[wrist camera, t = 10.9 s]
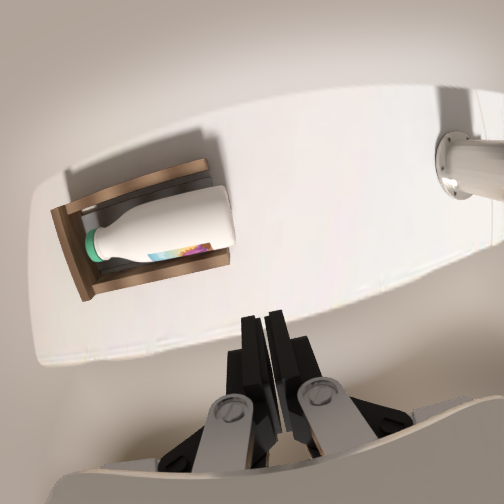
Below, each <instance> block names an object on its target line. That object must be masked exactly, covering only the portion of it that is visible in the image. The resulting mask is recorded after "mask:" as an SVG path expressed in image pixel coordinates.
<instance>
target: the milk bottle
mask: <svg viewBox="0 0 504 504" xmlns="http://www.w3.org/2000/svg"><path fill="white" fill-rule="evenodd" d="M235 244H236V235H235V229H234V223H233V217H232V212H231V207H230V203H229V199H228V195H227V191H226V189H225V187H224V186H222V185H219V186H214V187H209V188H204V189H200V190H195V191H191V192H186V193H182V194H178V195H174V196H170V197H166V198H162V199H158V200H155V201H151V202H148V203H145V204H141V205H138V206H136V207H134V208H132V209H130V210H128V211H127V212H125V213H124V214H123V215H122V216H121V217H120V218H119V219H117V220H116V221H115V222H114V223H113V224H111V225H110V226H108V227H106V228H104V227H100V228H96V229H93V230H90V231H89V232H88V233H87V235H86V239H85V246H86V250H87V253H88V255H89V257H90V258H91V259H92V260H93V261H94V262H101V261H104V260H109V259H110V258H111V257H120V258H125V259H128V260H132V261H136V262H153V261H159V260H165V259H170V258H175V257H181V256H186V255H191V254H196V253H201V252H206V251H211V250H216V249H221V248H226V247H230V246H233V245H235Z"/></svg>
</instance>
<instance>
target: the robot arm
mask: <svg viewBox="0 0 504 504" xmlns="http://www.w3.org/2000/svg"><path fill="white" fill-rule="evenodd" d="M436 169H437V174H438V178H439V181H440V183H441V185H442V187H443V189H444V190H445V192H446V193H447V194H448V195H449V196H450V197H452V198H454V199H458V200H465V199H468V198H469V197H471V196H472V195H473V194H474V195H478V196H482V197H486V198H490V199H494V200H498V201H501V202H504V141H502V140H472V139H471V138H470V137H469V136H468V135H466V134H465V133H463V132H459V131H452V132H449V133H447V134H446V135H445V136H444V137H443V138H442V139H441V141H440V143H439V146H438V149H437V154H436ZM264 319H265V325H266V331H267V336H268V342H269V349H270V354H271V360H272V366H273V373H274V378H275V383H276V388H277V392H278V397H279V400H280V405H281V409H282V414H283V418H284V422H285V426H286V431H287V432H290V431H293V436H294V439H295V440H297V441H299V442H301V443H304V444H305V447H306V450H307V452H308V454H309V456H310V459H309V460H305V461H300V462H295V463H290V464H285V465H278V466H272V467H269V457H270V453H269V449H270V448H271V447H272V446H273V445H274V444H275V443H276V442H277V441H278V438H277V434H279V433H282V428H281V422H280V416H279V410H278V403H277V397H276V391H275V385H274V378H273V373H272V367H271V363H270V358H269V354H268V350H267V345H266V341H265V337H264V332H263V328H262V323H261V319H260V318H255V316H254V315H253V316H248V317H242V318H241V332H242V349H239V350H233V351H228V356H227V382H226V395H225V396H222V397H220V398H219V399H217V400H216V401H215V402H214V403H213V404H212V405H211V407H210V409H209V413H208V417H207V420H206V423H205V426H203V427H202V428H201V429H199V430H198V431H197V432H195V433H194V434H193V435H191V436H190V437H189V438H188V439H186V440H185V441H184V442H182V443H181V444H179V445H178V446H177V447H175V448H174V449H173V450H171V451H170V452H168V453H167V454H166V455H165V456H163V457H162V458H161V460H156V459H155V458H151V459H144V460H136V461H127V462H117V463H109V464H105V465H104V466H102V467H101V468H100V469H90V470H83V471H77V472H73V473H70V474H67V475H65V476H63V477H62V478H60V479H59V480H58V481H57V483H56V484H55V485H54V487H53V489H52V490H51V492H50V494H49V496H48V498H47V501H46V503H45V504H504V396H503V395H496V396H489V397H484V398H479V399H475V400H473V399H471V398H468V397H458V398H455V399H452V400H448V401H445V402H441V403H438V404H434V405H430V406H426V407H422V408H418V409H414V410H413V412H412V413H408V414H406V413H405V412H402V411H400V410H396V409H392V408H388V407H384V406H380V405H377V404H373V403H370V402H366V401H363V400H359V399H356V398H353V397H350V396H348V394H347V393H346V391H345V390H344V388H343V387H342V385H341V384H340V383H339V382H338V381H336V380H334V379H332V378H328V377H322V375H321V372H320V369H319V366H318V364H317V361H316V359H315V356H314V353H313V350H312V348H311V345H310V342H309V340H308V338H307V336H303V337H298V338H294V339H290V337H289V334H288V330H287V327H286V323H285V320H284V316H283V313H282V310H277V311H272V312H269V316H265V317H264Z"/></svg>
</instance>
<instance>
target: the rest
mask: <svg viewBox="0 0 504 504" xmlns="http://www.w3.org/2000/svg"><path fill="white" fill-rule="evenodd" d="M206 170H209V168H208V164H207V160H206V159H204V158H203V159H199V160H195V161H192V162H188V163H184V164H181V165H177V166H174V167H170V168H167V169H164V170H160V171H157V172H154V173H151V174H147V175H144V176H141V177H138V178H135V179H132V180H129V181H126V182H123V183H120V184H118V185H115V186H112V187H109V188H107V189H104V190H101V191H98V192H96V193H93V194H91V195H88V196H85V197H83V198H80V199H78V200H76V201H73V202H71V203H68V204H66V205H63V206H60V207H57V208H55V209H52V210H51V214H52V218H53V221H54V225H55V228H56V231H57V235H58V238H59V241H60V244H61V247H62V250H63V253H64V256H65V259H66V261H67V264H68V267H69V270H70V272H71V275H72V277H73V280H74V282H75V285H76V287H77V290H78V292H79V294H80V297H81V299H82V301H83V302H84V301H89V300H91V299H92V298H93V297H94V296H95V294H100V293H104V292H109V291H113V290H118V289H122V288H127V287H132V286H136V285H141V284H145V283H150V282H154V281H159V280H163V279H168V278H172V277H177V276H181V275H186V274H190V273H194V272H199V271H203V270H208V269H212V268H217V267H221V266H225V265H230V253H229V249H228V247H226V248H221V249H216V250H211V251H206V252H201V253H196V254H191V255H186V256H181V257H176V258H172V259H167V260H163V261H159V262H155V263H151V264H147V265H143V266H138V267H134V268H130V269H126V270H122V271H118V272H114V273H110V274H106V275H102V273H101V271H100V270H104V269H108V268H112V267H116V266H120V265H124V264H127V263H131V262H135V261H132V260H128V259H125V258H120V257H111V258H110V259H109V260H104V261H101V262H94V261H93V260H92V259H91V258H90V257H89V255H88V253H87V250H86V246H85V239H86V235H87V233H88V232H89V231H90V230H93V229H96V228H100V227H104V228H106V227H108V226H110V225H111V224H113V223H114V222H115V221H116V220H117V219H119V218H120V217H121V216H122V215H123V214H124V213H125V212H127V211H128V210H130V209H132V208H134V207H136V206H138V205H141V204H145V203H148V202H151V201H155V200H158V199H162V198H166V197H170V196H174V195H178V194H182V193H186V192H191V191H195V190H200V189H204V188H209V187H213V185H212V181H211V177H207V178H203V179H200V180H196V181H192V182H188V183H184V184H181V185H177V186H174V187H170V188H167V189H163V190H160V191H156V192H153V193H150V194H146V195H143V196H140V197H137V198H134V199H131V200H127V201H124V202H121V203H118V204H115V205H112V206H109V207H106V208H104V209H101V210H98V211H95V212H92V213H90V214H87V215H84V216H82V212H81V210H82V209H85V208H87V207H90V206H93V205H95V204H98V203H101V202H104V201H107V200H109V199H112V198H115V197H118V196H121V195H124V194H127V193H130V192H133V191H136V190H139V189H142V188H146V187H149V186H152V185H155V184H159V183H162V182H165V181H169V180H172V179H176V178H179V177H183V176H187V175H190V174H194V173H198V172H202V171H206Z"/></svg>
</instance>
